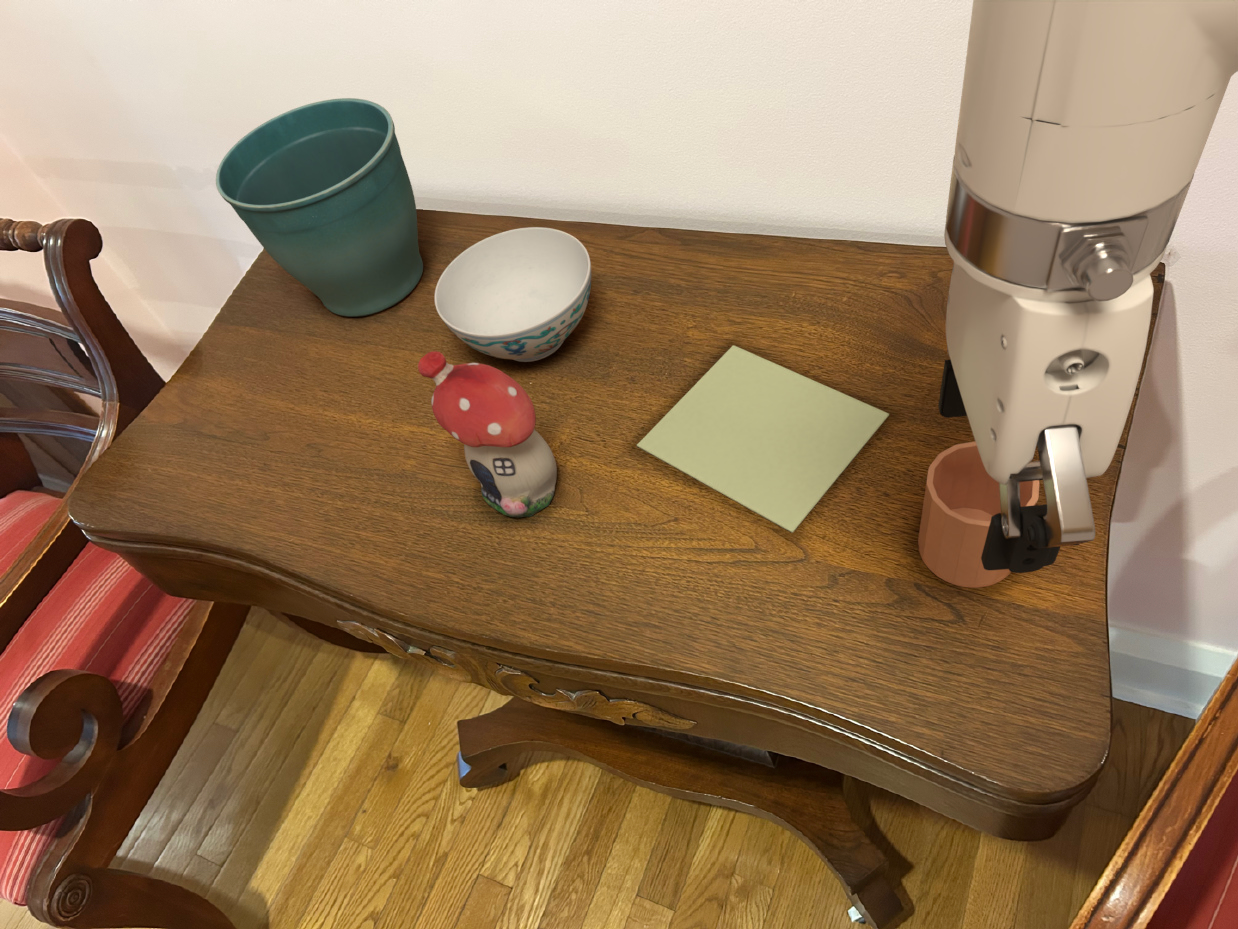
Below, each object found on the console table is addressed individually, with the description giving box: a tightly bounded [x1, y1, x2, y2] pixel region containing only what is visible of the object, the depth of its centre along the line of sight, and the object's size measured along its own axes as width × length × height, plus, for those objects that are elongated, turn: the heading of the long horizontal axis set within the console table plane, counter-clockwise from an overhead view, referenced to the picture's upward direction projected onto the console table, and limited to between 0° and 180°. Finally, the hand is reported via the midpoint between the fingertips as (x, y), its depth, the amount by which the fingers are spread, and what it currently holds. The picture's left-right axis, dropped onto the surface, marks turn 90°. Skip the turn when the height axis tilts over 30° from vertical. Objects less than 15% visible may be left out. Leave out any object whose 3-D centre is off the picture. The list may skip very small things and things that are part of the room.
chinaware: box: [434, 226, 592, 363], centre depth 82 cm, size 15×15×8 cm
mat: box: [636, 345, 890, 534], centre depth 72 cm, size 16×14×1 cm
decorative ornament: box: [417, 350, 558, 518], centre depth 68 cm, size 9×7×15 cm
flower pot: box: [215, 97, 424, 318], centre depth 89 cm, size 18×18×17 cm
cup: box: [917, 440, 1040, 589], centre depth 59 cm, size 7×7×8 cm
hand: (990, 481), depth 44 cm, fingers open, 9 cm apart
